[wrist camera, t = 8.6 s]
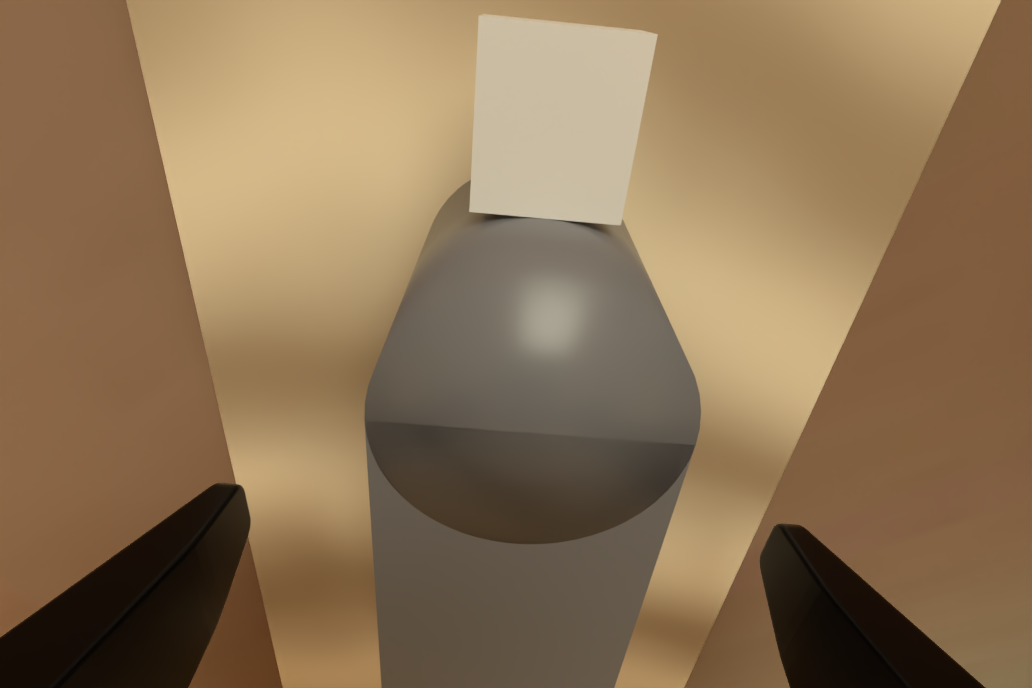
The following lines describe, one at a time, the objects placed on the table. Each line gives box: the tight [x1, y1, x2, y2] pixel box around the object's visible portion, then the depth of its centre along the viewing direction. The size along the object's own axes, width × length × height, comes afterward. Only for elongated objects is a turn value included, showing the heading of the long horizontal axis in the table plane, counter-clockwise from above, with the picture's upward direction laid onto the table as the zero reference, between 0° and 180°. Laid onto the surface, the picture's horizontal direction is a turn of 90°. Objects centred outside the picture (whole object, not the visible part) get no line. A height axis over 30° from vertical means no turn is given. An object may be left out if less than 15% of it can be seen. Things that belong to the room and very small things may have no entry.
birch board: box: [126, 0, 1001, 688], centre depth 12 cm, size 22×12×1 cm, turn 175°
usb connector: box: [364, 14, 701, 688], centre depth 9 cm, size 13×4×4 cm, turn 175°
